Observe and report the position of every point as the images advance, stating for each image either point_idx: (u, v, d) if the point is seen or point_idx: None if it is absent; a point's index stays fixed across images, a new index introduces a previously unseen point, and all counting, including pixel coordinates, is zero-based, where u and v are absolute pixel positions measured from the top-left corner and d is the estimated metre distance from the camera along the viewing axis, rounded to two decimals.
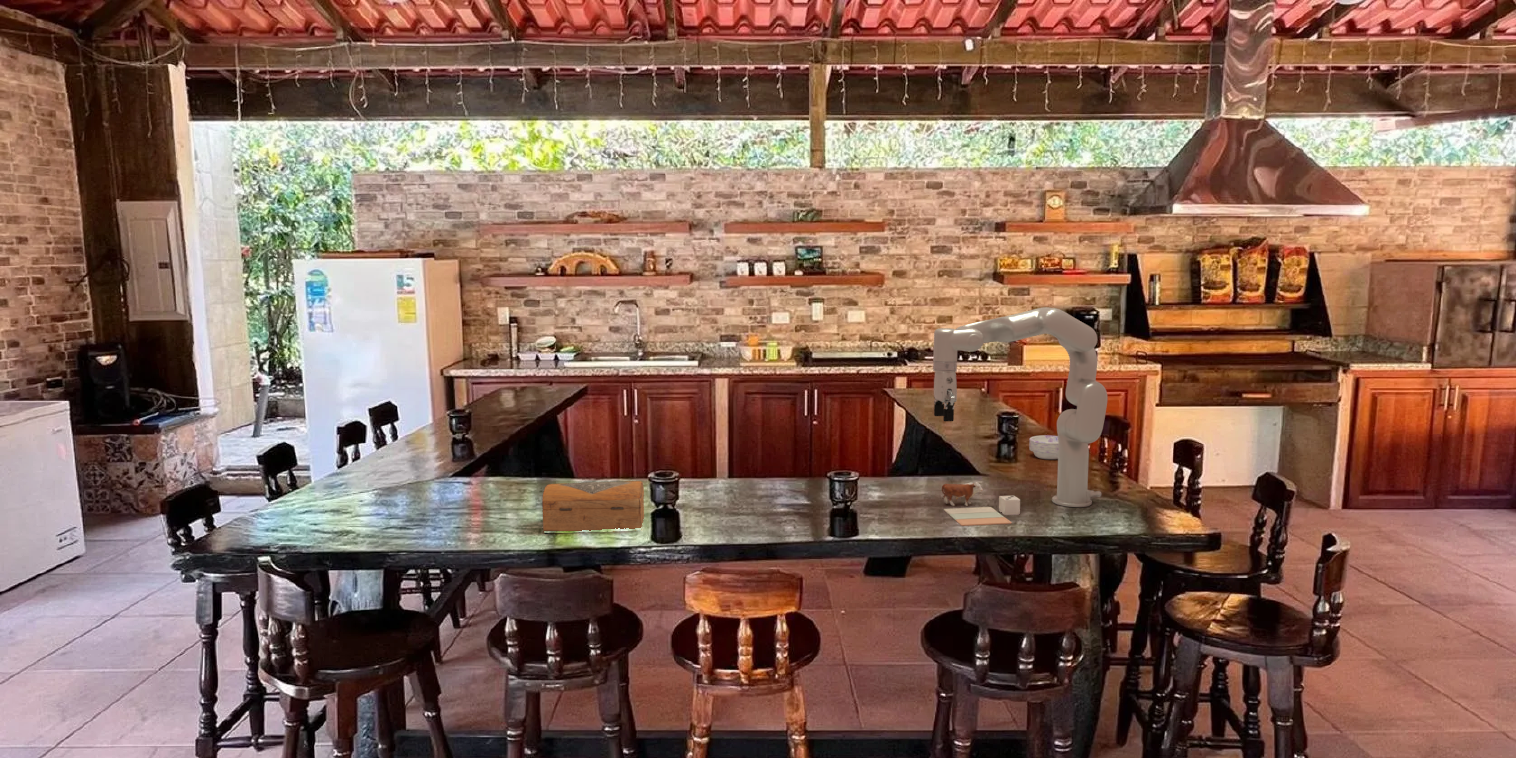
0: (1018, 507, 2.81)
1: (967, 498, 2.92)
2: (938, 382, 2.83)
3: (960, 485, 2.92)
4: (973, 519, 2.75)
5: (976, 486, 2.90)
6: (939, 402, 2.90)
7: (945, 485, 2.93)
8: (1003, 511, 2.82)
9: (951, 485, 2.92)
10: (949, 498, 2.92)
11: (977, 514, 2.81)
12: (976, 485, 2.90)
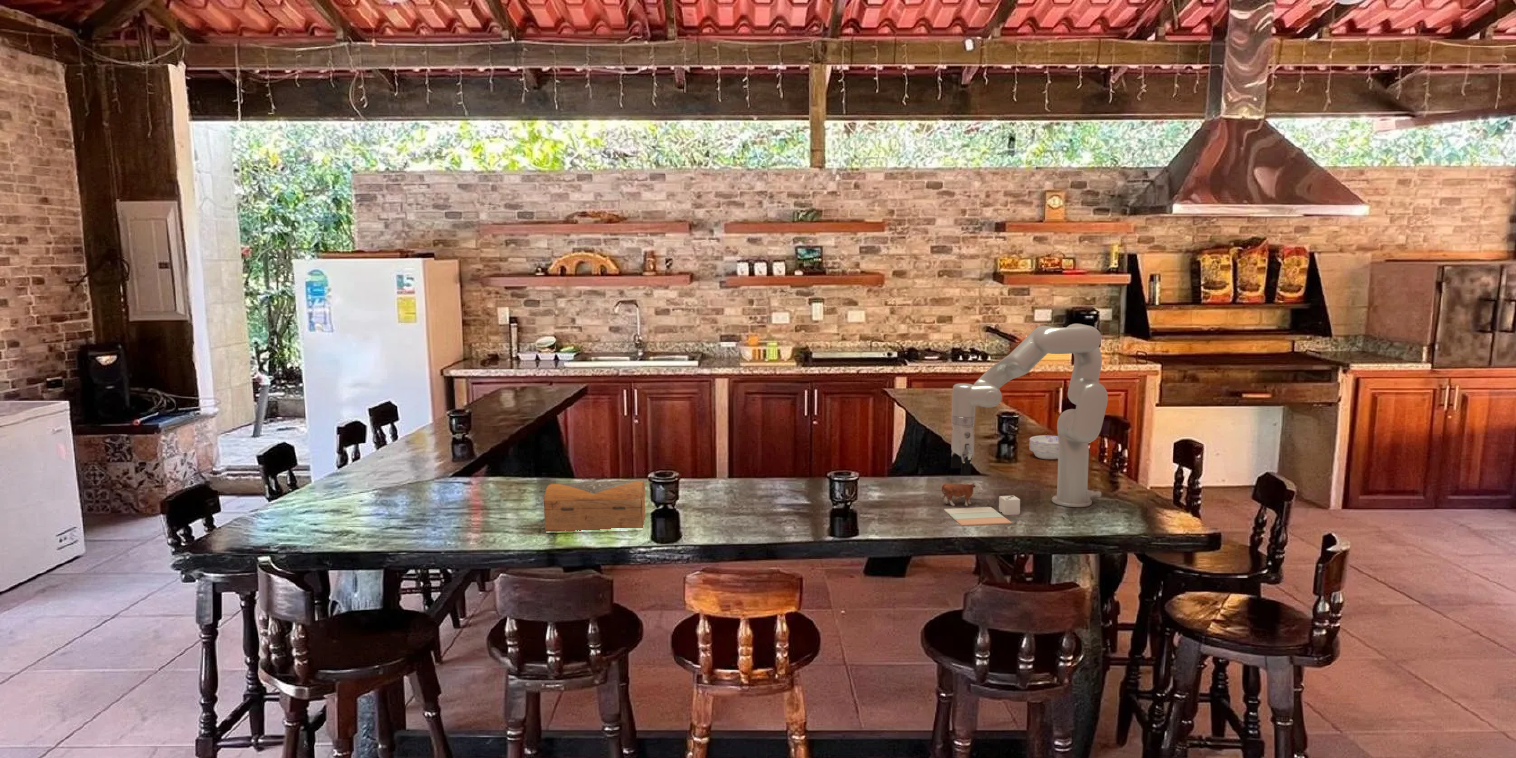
0: (1018, 507, 2.81)
1: (967, 498, 2.92)
2: (956, 436, 2.89)
3: (960, 485, 2.92)
4: (973, 519, 2.75)
5: (976, 486, 2.90)
6: (956, 454, 2.96)
7: (945, 485, 2.93)
8: (1003, 511, 2.82)
9: (951, 485, 2.92)
10: (949, 498, 2.92)
11: (977, 514, 2.81)
12: (976, 485, 2.90)
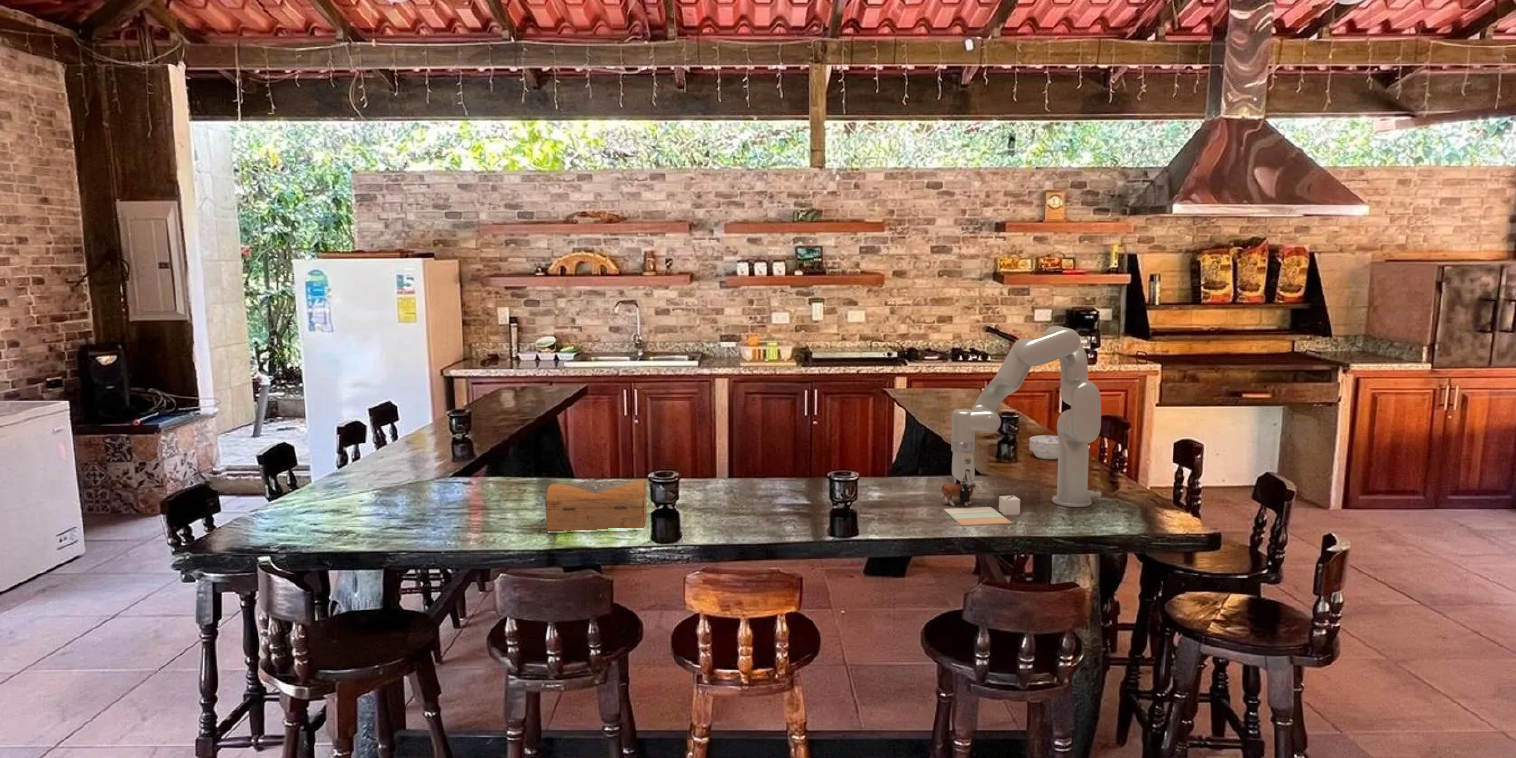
0: (1018, 507, 2.81)
1: None
2: (956, 462, 2.90)
3: (960, 485, 2.92)
4: (973, 519, 2.75)
5: (976, 486, 2.90)
6: None
7: (945, 485, 2.93)
8: (1003, 511, 2.82)
9: (951, 485, 2.92)
10: (949, 498, 2.92)
11: (977, 514, 2.81)
12: (976, 485, 2.90)
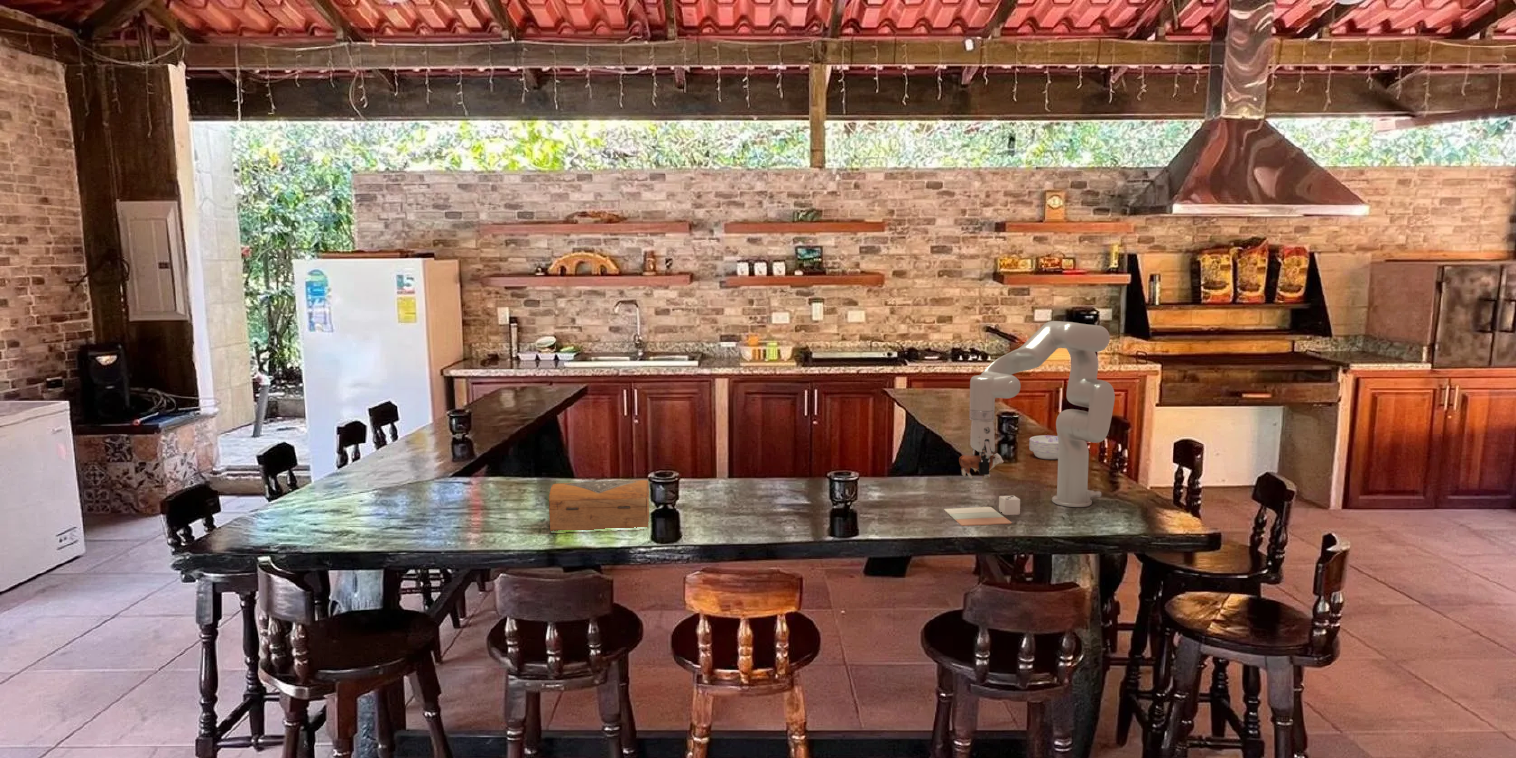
0: (1018, 507, 2.81)
1: None
2: (975, 431, 2.72)
3: (979, 456, 2.74)
4: (973, 519, 2.75)
5: (996, 457, 2.72)
6: None
7: (963, 457, 2.74)
8: (1003, 511, 2.82)
9: (969, 456, 2.74)
10: (967, 470, 2.74)
11: (977, 514, 2.81)
12: (996, 456, 2.72)
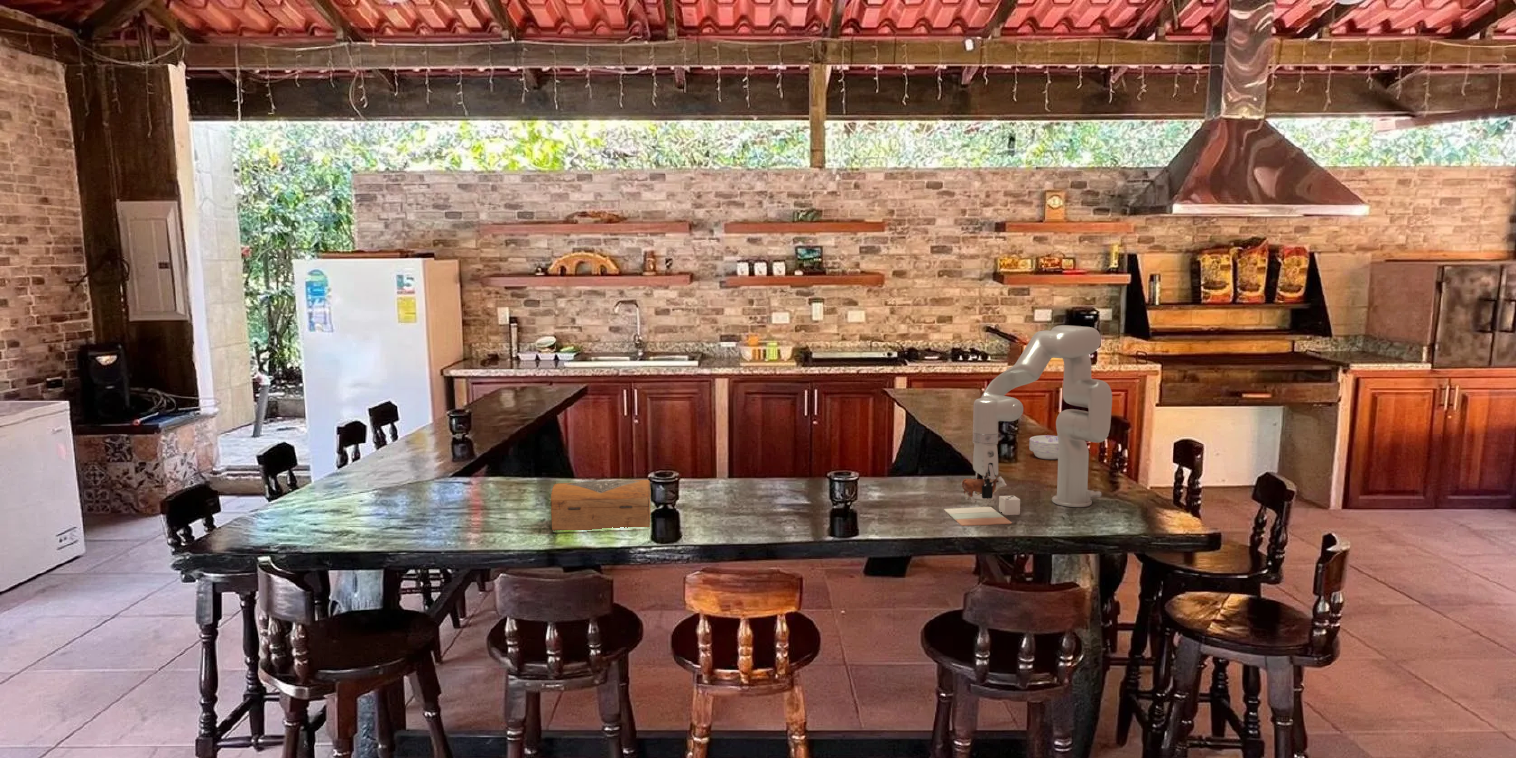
0: (1018, 507, 2.81)
1: None
2: (978, 455, 2.69)
3: (982, 480, 2.71)
4: (973, 519, 2.75)
5: (999, 481, 2.70)
6: None
7: (966, 480, 2.72)
8: (1003, 511, 2.82)
9: (972, 480, 2.72)
10: (970, 494, 2.72)
11: (977, 514, 2.81)
12: (999, 480, 2.70)
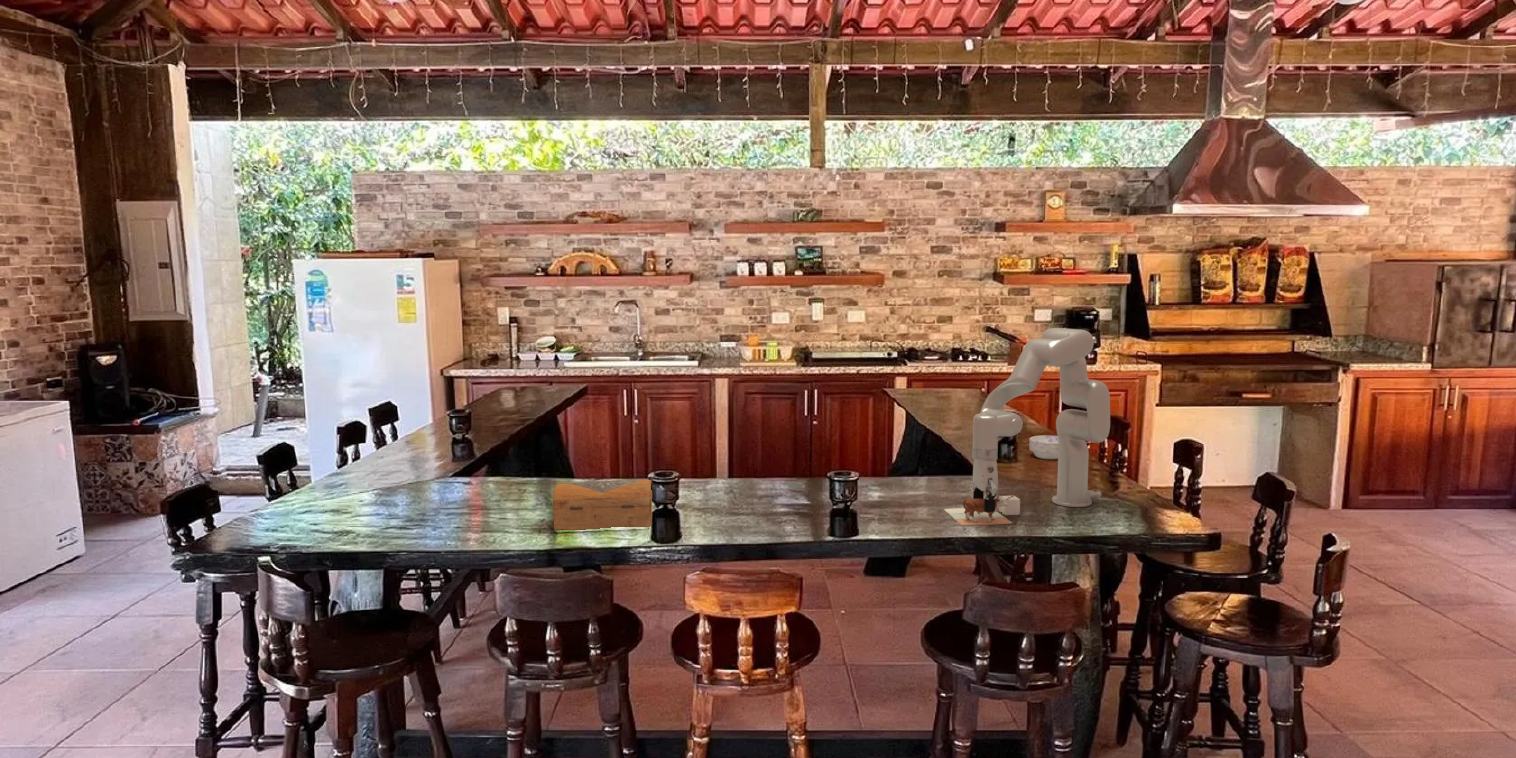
0: (1018, 507, 2.81)
1: (990, 513, 2.72)
2: (978, 470, 2.70)
3: (983, 500, 2.72)
4: None
5: (1000, 500, 2.71)
6: (978, 489, 2.77)
7: (967, 500, 2.73)
8: (1003, 511, 2.82)
9: (973, 500, 2.72)
10: (971, 514, 2.72)
11: (977, 514, 2.81)
12: (1000, 499, 2.71)
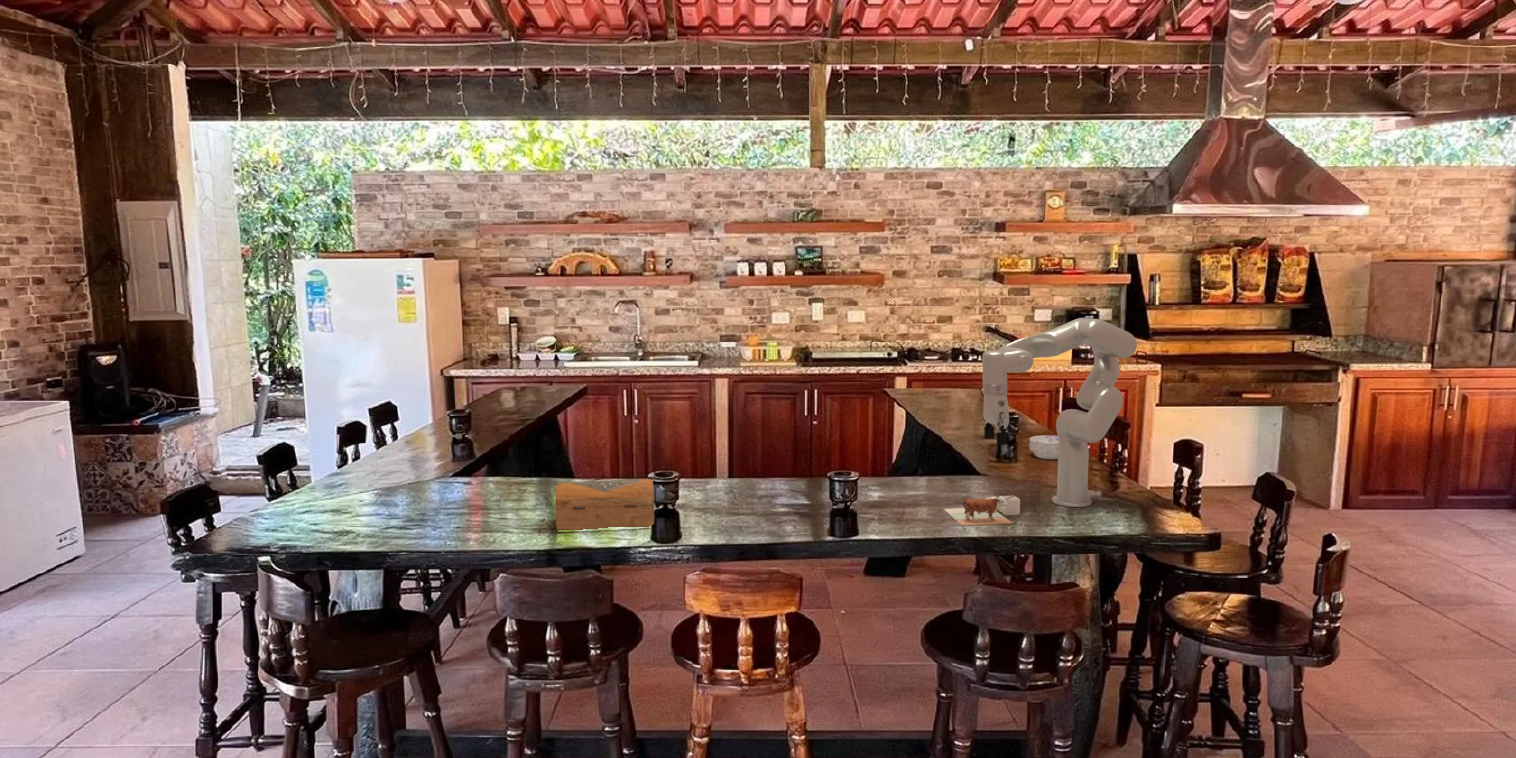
0: (1018, 507, 2.81)
1: (990, 513, 2.72)
2: (989, 405, 2.80)
3: (983, 500, 2.72)
4: None
5: (1000, 500, 2.71)
6: (989, 424, 2.87)
7: (967, 500, 2.73)
8: (1003, 511, 2.82)
9: (973, 500, 2.72)
10: (971, 514, 2.72)
11: (977, 514, 2.81)
12: (1000, 499, 2.71)
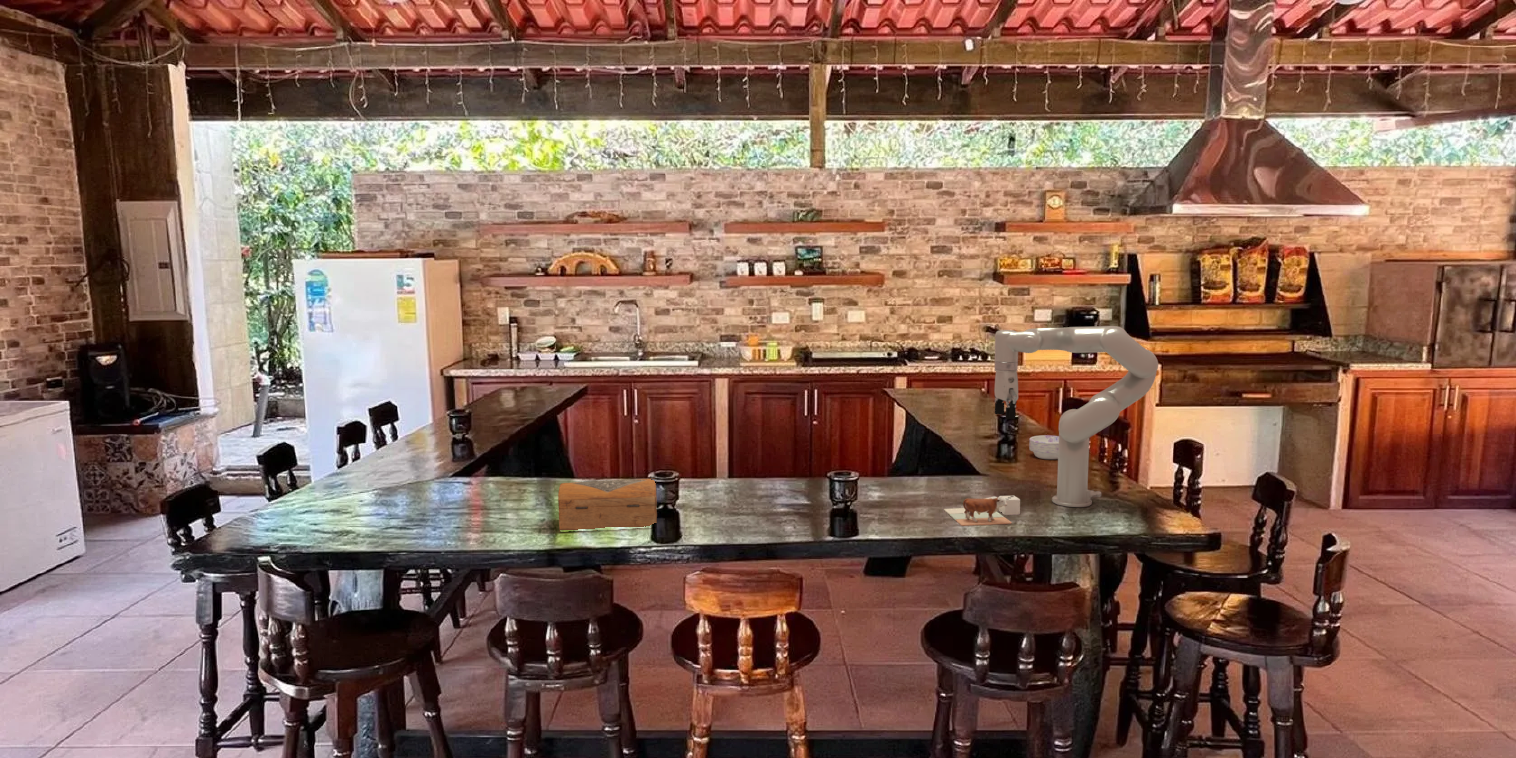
0: (1018, 507, 2.81)
1: (990, 513, 2.72)
2: (1000, 382, 2.95)
3: (983, 500, 2.72)
4: None
5: (1000, 500, 2.71)
6: (999, 401, 3.03)
7: (967, 500, 2.73)
8: (1003, 511, 2.82)
9: (973, 500, 2.72)
10: (971, 514, 2.72)
11: (977, 514, 2.81)
12: (1000, 499, 2.71)
